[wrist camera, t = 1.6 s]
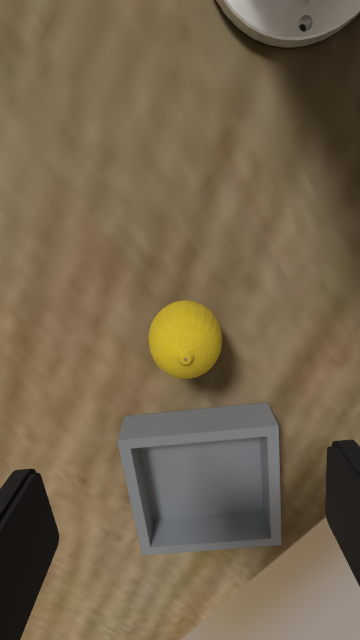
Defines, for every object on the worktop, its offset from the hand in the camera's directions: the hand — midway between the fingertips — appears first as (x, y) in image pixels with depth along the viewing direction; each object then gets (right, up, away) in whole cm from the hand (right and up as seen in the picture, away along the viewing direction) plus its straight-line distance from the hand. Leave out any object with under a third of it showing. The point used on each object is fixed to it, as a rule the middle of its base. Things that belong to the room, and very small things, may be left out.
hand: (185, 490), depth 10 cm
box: (+2, -10, +21) cm, 24 cm away
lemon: (0, +5, +17) cm, 18 cm away
